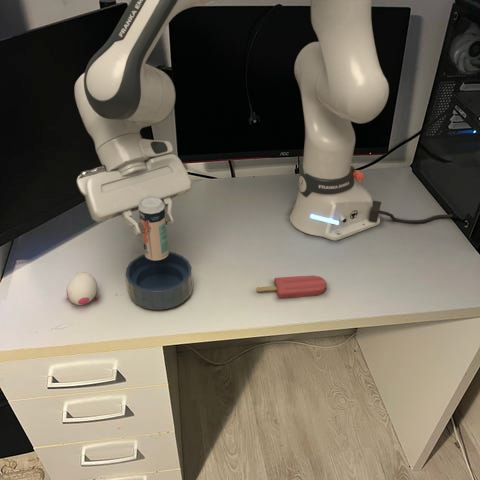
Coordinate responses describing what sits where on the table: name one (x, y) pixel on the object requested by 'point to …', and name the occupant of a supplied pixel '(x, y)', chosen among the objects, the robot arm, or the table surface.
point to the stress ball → (81, 288)
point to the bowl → (159, 281)
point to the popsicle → (297, 286)
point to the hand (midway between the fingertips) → (155, 228)
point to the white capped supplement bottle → (154, 228)
